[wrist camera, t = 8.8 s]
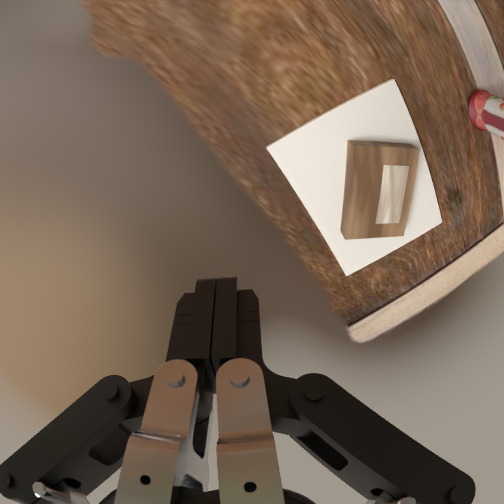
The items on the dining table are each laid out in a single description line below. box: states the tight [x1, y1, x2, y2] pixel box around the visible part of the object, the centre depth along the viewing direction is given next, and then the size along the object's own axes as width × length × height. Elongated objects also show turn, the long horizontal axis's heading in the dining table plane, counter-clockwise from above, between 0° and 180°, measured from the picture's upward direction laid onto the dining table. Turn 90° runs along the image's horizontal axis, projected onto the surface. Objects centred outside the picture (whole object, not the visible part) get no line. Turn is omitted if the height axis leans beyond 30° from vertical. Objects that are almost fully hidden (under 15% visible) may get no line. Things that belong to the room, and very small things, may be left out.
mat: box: [266, 79, 442, 276], centre depth 39 cm, size 20×26×1 cm
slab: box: [340, 140, 420, 240], centre depth 38 cm, size 3×14×10 cm
